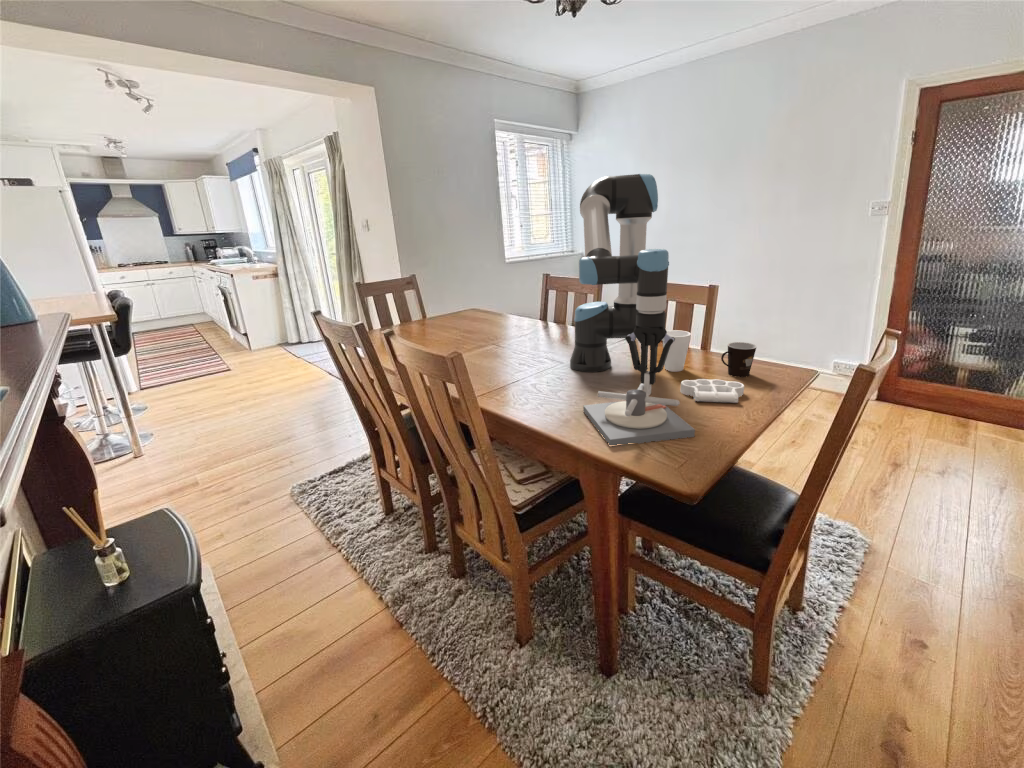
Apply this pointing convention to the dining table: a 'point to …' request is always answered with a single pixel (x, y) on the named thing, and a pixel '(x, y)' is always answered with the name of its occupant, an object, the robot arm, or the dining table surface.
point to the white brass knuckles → (712, 390)
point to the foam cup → (677, 350)
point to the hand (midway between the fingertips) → (647, 394)
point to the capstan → (636, 409)
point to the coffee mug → (739, 358)
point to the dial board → (623, 435)
